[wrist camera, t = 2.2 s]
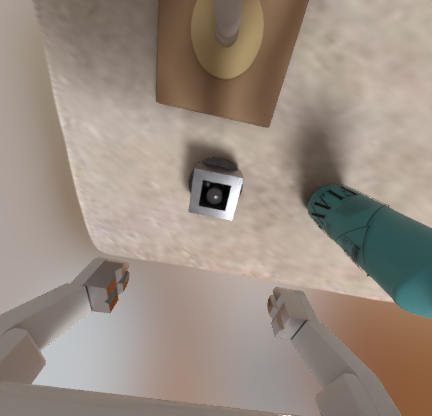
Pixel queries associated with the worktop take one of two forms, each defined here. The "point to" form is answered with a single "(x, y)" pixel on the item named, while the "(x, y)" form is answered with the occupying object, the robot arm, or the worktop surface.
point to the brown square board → (226, 55)
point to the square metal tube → (216, 175)
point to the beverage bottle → (379, 243)
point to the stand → (212, 189)
